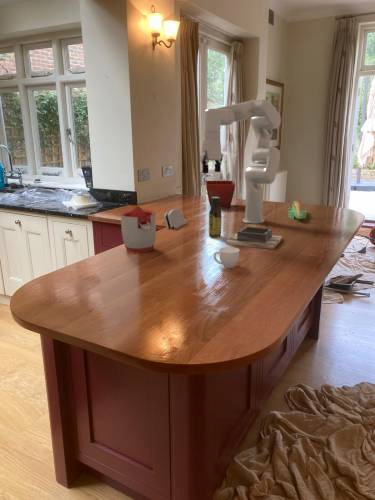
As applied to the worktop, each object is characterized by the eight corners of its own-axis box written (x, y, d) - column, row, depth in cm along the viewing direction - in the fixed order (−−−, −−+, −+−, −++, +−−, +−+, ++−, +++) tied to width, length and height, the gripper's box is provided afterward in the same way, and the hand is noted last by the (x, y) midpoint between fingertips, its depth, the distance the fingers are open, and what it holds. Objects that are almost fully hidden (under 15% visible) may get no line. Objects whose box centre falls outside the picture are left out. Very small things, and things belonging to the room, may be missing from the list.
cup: (239, 269, 154) (239, 253, 152) (213, 269, 155) (213, 252, 153) (239, 263, 161) (239, 247, 159) (214, 262, 162) (214, 246, 160)
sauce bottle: (207, 235, 205) (207, 196, 199) (220, 234, 206) (220, 195, 200) (209, 238, 199) (209, 198, 193) (222, 237, 199) (222, 197, 194)
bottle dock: (238, 235, 204) (238, 224, 203) (282, 239, 195) (282, 228, 193) (226, 244, 189) (226, 232, 187) (273, 249, 179) (273, 237, 178)
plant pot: (234, 209, 271) (235, 183, 266) (206, 209, 271) (206, 184, 266) (232, 204, 289) (232, 180, 284) (205, 204, 289) (205, 180, 284)
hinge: (175, 228, 219) (169, 211, 217) (167, 231, 221) (161, 213, 220) (187, 222, 233) (181, 206, 232) (180, 224, 236) (174, 208, 234)
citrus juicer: (130, 257, 170) (127, 211, 165) (117, 248, 185) (114, 204, 179) (164, 252, 177) (162, 207, 171) (149, 243, 192) (147, 201, 186)
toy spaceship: (309, 223, 227) (309, 210, 225) (289, 223, 229) (290, 210, 227) (304, 212, 257) (304, 201, 255) (287, 212, 259) (287, 200, 257)
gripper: (216, 136, 201) (216, 171, 206) (194, 136, 189) (194, 173, 193) (229, 136, 197) (228, 171, 201) (207, 136, 184) (206, 174, 189)
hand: (211, 172), depth 197 cm, fingers open, 9 cm apart
